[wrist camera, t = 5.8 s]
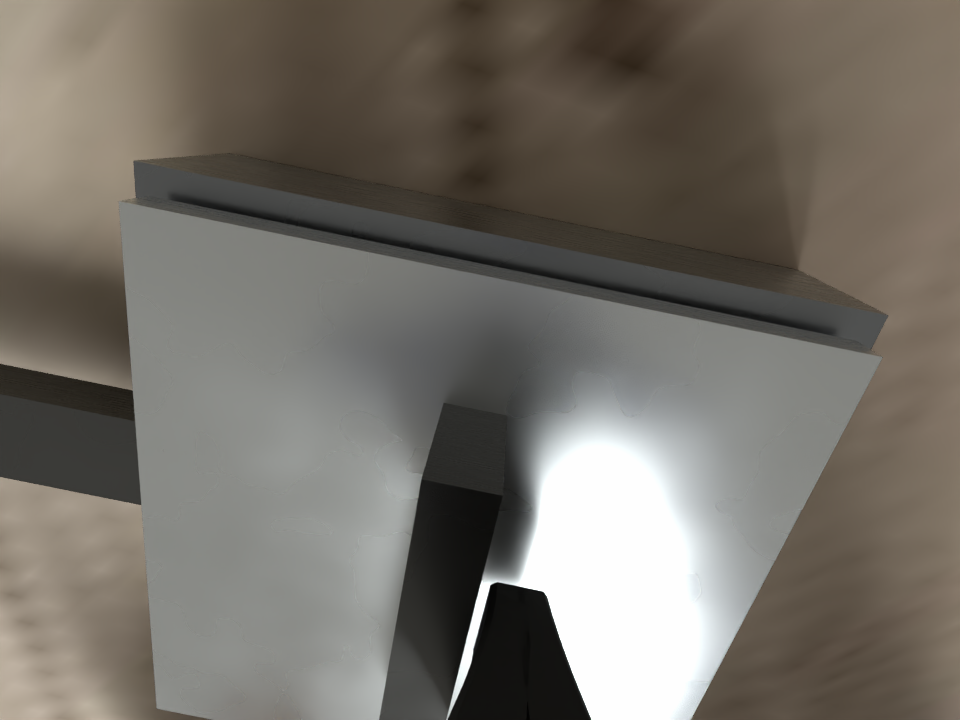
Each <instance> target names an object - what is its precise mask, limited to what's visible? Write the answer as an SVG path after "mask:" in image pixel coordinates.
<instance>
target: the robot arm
mask: <svg viewBox="0 0 960 720" xmlns="http://www.w3.org/2000/svg"><path fill="white" fill-rule="evenodd" d="M447 720H592V718H591V716H590V714H589V711H588V709H587V706H586V704H585V701H584V699H583V697H582V694H581V692H580V689H579V687H578V684H577V682H576V679H575V677H574V674H573V672H572V669H571V666H570V664H569V661H568V658H567V656H566V653H565V650H564V647H563V644H562V642H561V639H560V636H559V633H558V630H557V627H556V624H555V620H554V617H553V614H552V610H551V607H550V604H549V600H548V597H547V595H546V594H545V592H544V591H540V590H535V589H530V588H525V587H520V586H515V585H510V584H505V583H500V582H496V583H494V584H492V585H490V588H489V592H488V595H487V599H486V603H485V607H484V611H483V614H482V618H481V622H480V626H479V630H478V633H477V637H476V641H475V645H474V649H473V655H472V661H471V665H470V668H469V670H468V673H467V676H466V678H465V681H464V683H463V686H462V688H461V690H460V692H459V695H458V697H457V699H456V701H455V704H454V706H453V708H452V710H451V713H450V715H449V717H448V719H447Z"/></svg>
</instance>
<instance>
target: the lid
mask: <svg viewBox="0 0 960 720" xmlns="http://www.w3.org/2000/svg"><path fill="white" fill-rule="evenodd" d="M119 212H120V226H121V239H122V252H123V266H124V279H125V292H126V306H127V319H128V332H129V346H130V359H131V372H132V386H133V399H134V412H135V426H136V439H137V452H138V466H139V479H140V492H141V505H142V519H143V532H144V545H145V559H146V572H147V585H148V599H149V612H150V625H151V639H152V652H153V665H154V679H155V692H156V705H157V709H161V710H166V711H171V712H176V713H181V714H186V715H191V716H196V717H201V718H206V719H211V720H447V719H448V717H449V715H450V713H451V710H452V708H453V706H454V704H455V701H456V699H457V697H458V695H459V692H460V690H461V688H462V686H463V683H464V681H465V678H466V676H467V673H468V670H469V668H470V665H471V661H472V655H473V649H474V645H475V641H476V637H477V633H478V630H479V626H480V622H481V618H482V614H483V611H484V607H485V603H486V599H487V595H488V592H489V588H490V585H492V584H494V583H496V582H500V583H505V584H510V585H515V586H520V587H525V588H530V589H535V590H540V591H544V592H545V594H546V595H547V597H548V600H549V604H550V607H551V610H552V614H553V617H554V620H555V624H556V627H557V630H558V633H559V636H560V639H561V642H562V644H563V647H564V650H565V653H566V656H567V658H568V661H569V664H570V666H571V669H572V672H573V674H574V677H575V679H576V682H577V684H578V687H579V689H580V692H581V694H582V697H583V699H584V701H585V704H586V706H587V709H588V711H589V714H590V716H591V718H592V720H691V718H692V716H693V715H694V713H695V711H696V709H697V707H698V705H699V703H700V701H701V700H702V698H703V696H704V694H705V692H706V690H707V688H708V686H709V684H710V683H711V681H712V679H713V677H714V675H715V673H716V671H717V669H718V667H719V666H720V664H721V662H722V660H723V658H724V656H725V654H726V652H727V650H728V649H729V647H730V645H731V643H732V641H733V639H734V637H735V635H736V633H737V632H738V630H739V628H740V626H741V624H742V622H743V620H744V618H745V616H746V615H747V613H748V611H749V609H750V607H751V605H752V603H753V601H754V599H755V598H756V596H757V594H758V592H759V590H760V588H761V586H762V584H763V582H764V581H765V579H766V577H767V575H768V573H769V571H770V569H771V567H772V565H773V564H774V562H775V560H776V558H777V556H778V554H779V552H780V550H781V549H782V547H783V545H784V543H785V541H786V539H787V537H788V535H789V533H790V532H791V530H792V528H793V526H794V524H795V522H796V520H797V518H798V516H799V515H800V513H801V511H802V509H803V507H804V505H805V503H806V501H807V499H808V498H809V496H810V494H811V492H812V490H813V488H814V486H815V484H816V482H817V481H818V479H819V477H820V475H821V473H822V471H823V469H824V467H825V465H826V464H827V462H828V460H829V458H830V456H831V454H832V452H833V450H834V448H835V447H836V445H837V443H838V441H839V439H840V437H841V435H842V433H843V431H844V430H845V428H846V426H847V424H848V422H849V420H850V418H851V416H852V414H853V413H854V411H855V409H856V407H857V405H858V403H859V401H860V399H861V397H862V396H863V394H864V392H865V390H866V388H867V386H868V384H869V382H870V381H871V379H872V377H873V375H874V373H875V371H876V369H877V367H878V365H879V364H880V362H881V360H882V358H883V357H882V356H880V355H879V354H877V353H875V352H874V351H872V350H871V349H869V348H867V347H866V346H864V345H863V344H861V343H859V342H858V341H856V340H852V339H847V338H842V337H837V336H832V335H828V334H823V333H818V332H813V331H808V330H803V329H798V328H793V327H788V326H784V325H779V324H774V323H769V322H764V321H759V320H754V319H749V318H744V317H739V316H735V315H730V314H725V313H720V312H715V311H710V310H705V309H700V308H695V307H691V306H686V305H681V304H676V303H671V302H666V301H661V300H656V299H651V298H647V297H642V296H637V295H632V294H627V293H622V292H617V291H612V290H607V289H603V288H598V287H593V286H588V285H583V284H578V283H573V282H568V281H563V280H559V279H554V278H549V277H544V276H539V275H534V274H529V273H524V272H519V271H514V270H510V269H505V268H500V267H495V266H490V265H485V264H480V263H475V262H470V261H466V260H461V259H456V258H451V257H446V256H441V255H436V254H431V253H426V252H422V251H417V250H412V249H407V248H402V247H397V246H392V245H387V244H382V243H378V242H373V241H368V240H363V239H358V238H353V237H348V236H343V235H338V234H334V233H329V232H324V231H319V230H314V229H309V228H304V227H299V226H294V225H290V224H285V223H280V222H275V221H270V220H265V219H260V218H255V217H250V216H245V215H241V214H236V213H231V212H226V211H221V210H216V209H211V208H206V207H201V206H197V205H192V204H187V203H182V202H177V201H172V200H167V199H162V198H157V197H153V196H145V197H139V198H134V199H128V200H122V201H119Z"/></svg>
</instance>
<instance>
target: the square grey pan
mask: <svg viewBox="0 0 960 720" xmlns="http://www.w3.org/2000/svg"><path fill="white" fill-rule="evenodd" d="M134 176H135V192H136V198H139V197H145V196H153V197H157V198H162V199H167V200H172V201H177V202H182V203H187V204H192V205H197V206H201V207H206V208H211V209H216V210H221V211H226V212H231V213H236V214H241V215H245V216H250V217H255V218H260V219H265V220H270V221H275V222H280V223H285V224H290V225H294V226H299V227H304V228H309V229H314V230H319V231H324V232H329V233H334V234H338V235H343V236H348V237H353V238H358V239H363V240H368V241H373V242H378V243H382V244H387V245H392V246H397V247H402V248H407V249H412V250H417V251H422V252H426V253H431V254H436V255H441V256H446V257H451V258H456V259H461V260H466V261H470V262H475V263H480V264H485V265H490V266H495V267H500V268H505V269H510V270H514V271H519V272H524V273H529V274H534V275H539V276H544V277H549V278H554V279H559V280H563V281H568V282H573V283H578V284H583V285H588V286H593V287H598V288H603V289H607V290H612V291H617V292H622V293H627V294H632V295H637V296H642V297H647V298H651V299H656V300H661V301H666V302H671V303H676V304H681V305H686V306H691V307H695V308H700V309H705V310H710V311H715V312H720V313H725V314H730V315H735V316H739V317H744V318H749V319H754V320H759V321H764V322H769V323H774V324H779V325H784V326H788V327H793V328H798V329H803V330H808V331H813V332H818V333H823V334H828V335H832V336H837V337H842V338H847V339H852V340H856V341H858V342H859V343H861V344H863V345H864V346H866V347H867V348H869V349H871V348H872V346H873V344H874V342H875V341H876V339H877V337H878V335H879V333H880V331H881V329H882V327H883V325H884V323H885V321H886V319H887V317H888V315H887V314H885V313H883V312H881V311H879V310H877V309H875V308H873V307H871V306H869V305H867V304H865V303H863V302H861V301H859V300H857V299H855V298H853V297H851V296H849V295H847V294H845V293H843V292H841V291H839V290H837V289H835V288H833V287H831V286H829V285H827V284H825V283H823V282H821V281H819V280H817V279H815V278H813V277H811V276H809V275H807V274H805V273H803V272H801V271H799V270H795V269H790V268H785V267H780V266H776V265H771V264H766V263H761V262H756V261H751V260H746V259H741V258H737V257H732V256H727V255H722V254H717V253H712V252H707V251H702V250H698V249H693V248H688V247H683V246H678V245H673V244H668V243H663V242H659V241H654V240H649V239H644V238H639V237H634V236H629V235H625V234H620V233H615V232H610V231H605V230H600V229H595V228H590V227H586V226H581V225H576V224H571V223H566V222H561V221H556V220H551V219H547V218H542V217H537V216H532V215H527V214H522V213H517V212H512V211H508V210H503V209H498V208H493V207H488V206H483V205H478V204H474V203H469V202H464V201H459V200H454V199H449V198H444V197H439V196H435V195H430V194H425V193H420V192H415V191H410V190H405V189H400V188H396V187H391V186H386V185H381V184H376V183H371V182H366V181H361V180H357V179H352V178H347V177H342V176H337V175H332V174H327V173H322V172H318V171H313V170H308V169H303V168H298V167H293V166H288V165H284V164H279V163H274V162H269V161H264V160H259V159H254V158H249V157H245V156H240V155H235V154H230V153H228V154H215V155H202V156H189V157H176V158H163V159H150V160H137V161H134ZM0 477H4V478H9V479H14V480H19V481H24V482H29V483H34V484H39V485H44V486H49V487H54V488H59V489H64V490H69V491H74V492H79V493H84V494H89V495H94V496H99V497H104V498H109V499H114V500H119V501H124V502H129V503H134V504H139V505H141V492H140V479H139V466H138V452H137V439H136V426H135V412H134V399H133V391H132V390H127V389H122V388H117V387H112V386H107V385H102V384H97V383H92V382H87V381H82V380H78V379H73V378H68V377H63V376H58V375H53V374H48V373H43V372H38V371H33V370H28V369H23V368H18V367H13V366H8V365H3V364H0Z"/></svg>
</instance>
